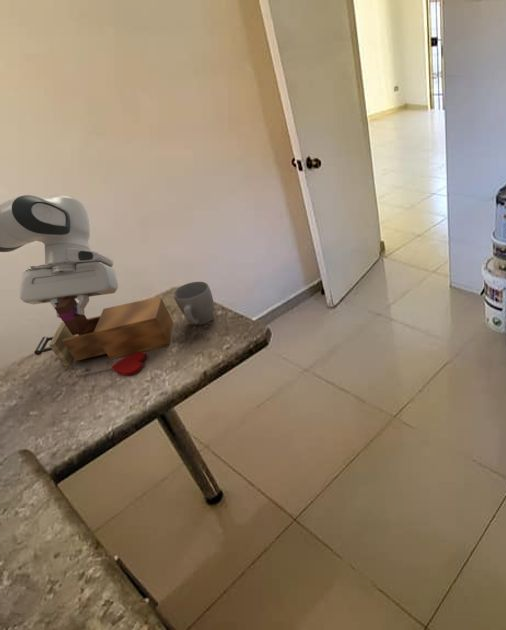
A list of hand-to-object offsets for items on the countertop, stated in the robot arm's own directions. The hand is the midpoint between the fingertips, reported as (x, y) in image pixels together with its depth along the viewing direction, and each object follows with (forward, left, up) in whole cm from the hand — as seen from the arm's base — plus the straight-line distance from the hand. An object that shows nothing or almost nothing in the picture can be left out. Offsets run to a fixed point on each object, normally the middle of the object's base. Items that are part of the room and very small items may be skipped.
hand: (70, 316), depth 104 cm
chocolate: (0, +1, -4) cm, 4 cm away
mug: (+26, +2, -12) cm, 28 cm away
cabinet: (+11, +1, -12) cm, 16 cm away
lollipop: (+6, -10, -12) cm, 16 cm away
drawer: (-1, +1, -11) cm, 11 cm away
